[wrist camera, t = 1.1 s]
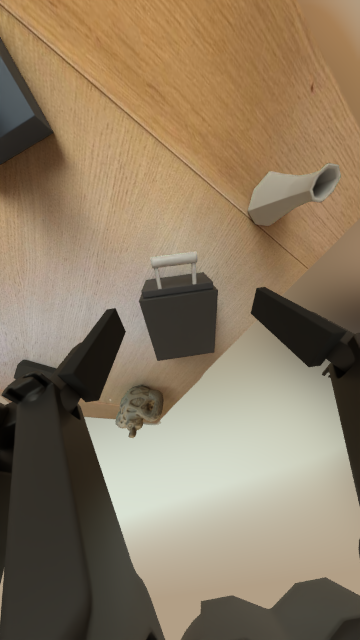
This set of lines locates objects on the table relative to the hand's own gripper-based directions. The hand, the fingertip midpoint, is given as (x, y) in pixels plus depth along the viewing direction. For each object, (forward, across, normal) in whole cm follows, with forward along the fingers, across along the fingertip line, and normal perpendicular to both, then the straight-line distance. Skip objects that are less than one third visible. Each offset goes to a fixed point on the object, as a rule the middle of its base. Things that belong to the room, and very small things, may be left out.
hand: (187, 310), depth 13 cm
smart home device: (+19, -42, -29) cm, 54 cm away
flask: (+19, +18, +9) cm, 28 cm away
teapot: (+19, -19, -42) cm, 50 cm away
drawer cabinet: (+18, 0, -10) cm, 21 cm away
